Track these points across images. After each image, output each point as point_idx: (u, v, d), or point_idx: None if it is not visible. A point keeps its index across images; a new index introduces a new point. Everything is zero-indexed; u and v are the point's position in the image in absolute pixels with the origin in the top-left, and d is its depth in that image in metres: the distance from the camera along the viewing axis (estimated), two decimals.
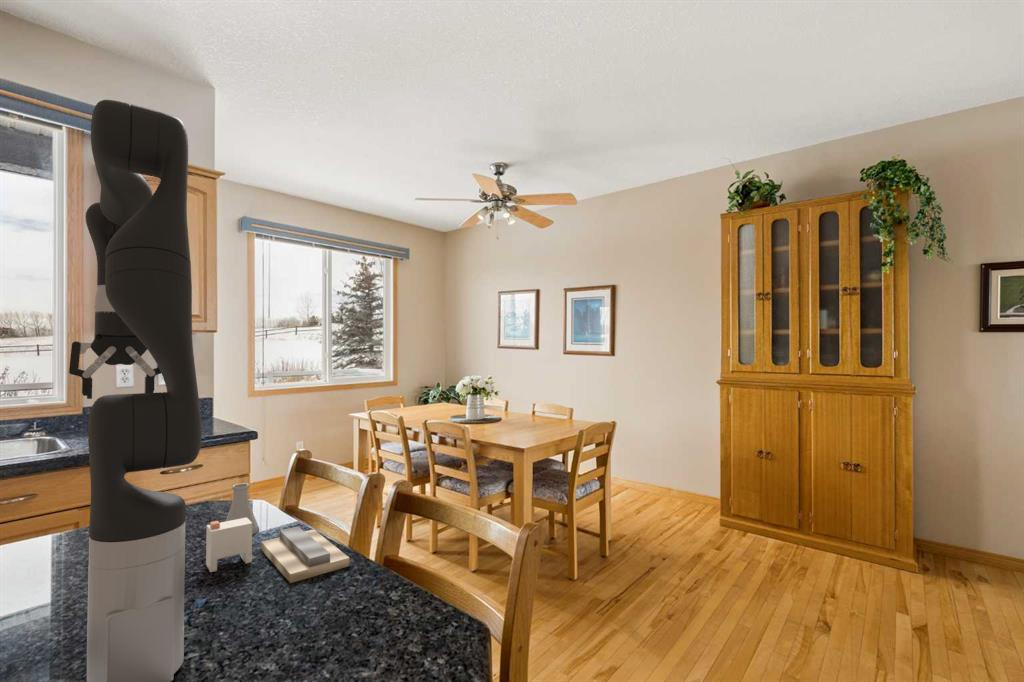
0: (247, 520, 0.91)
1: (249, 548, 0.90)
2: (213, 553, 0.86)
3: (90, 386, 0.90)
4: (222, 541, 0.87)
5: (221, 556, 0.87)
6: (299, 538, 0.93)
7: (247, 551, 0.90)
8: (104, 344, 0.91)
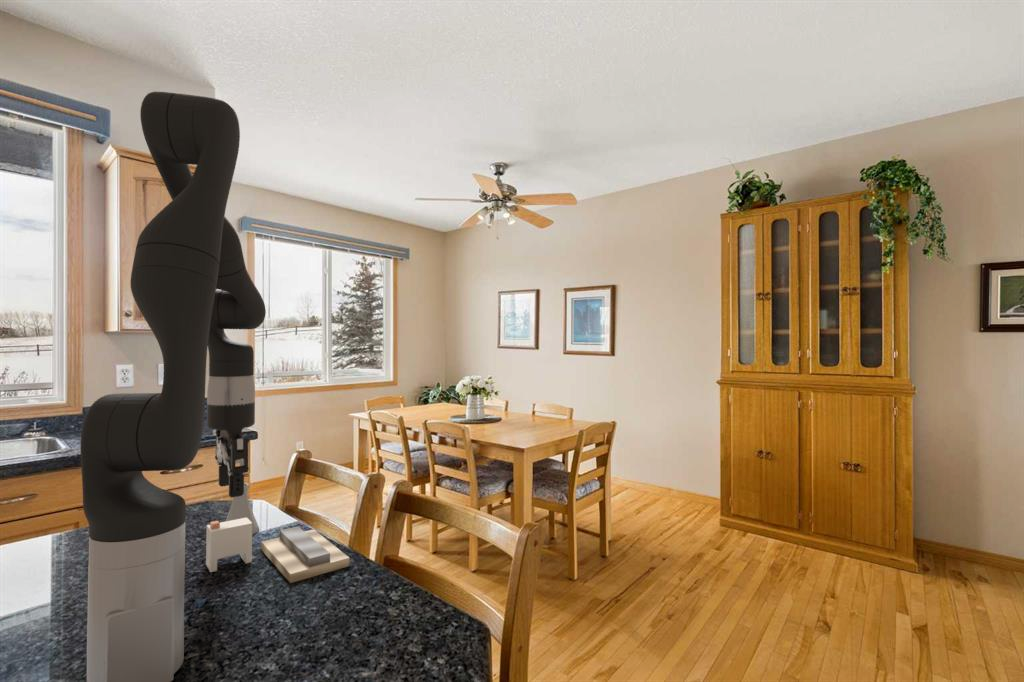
0: (247, 520, 0.91)
1: (249, 548, 0.90)
2: (213, 553, 0.86)
3: None
4: (222, 541, 0.87)
5: (221, 556, 0.87)
6: (299, 538, 0.93)
7: (247, 551, 0.90)
8: None
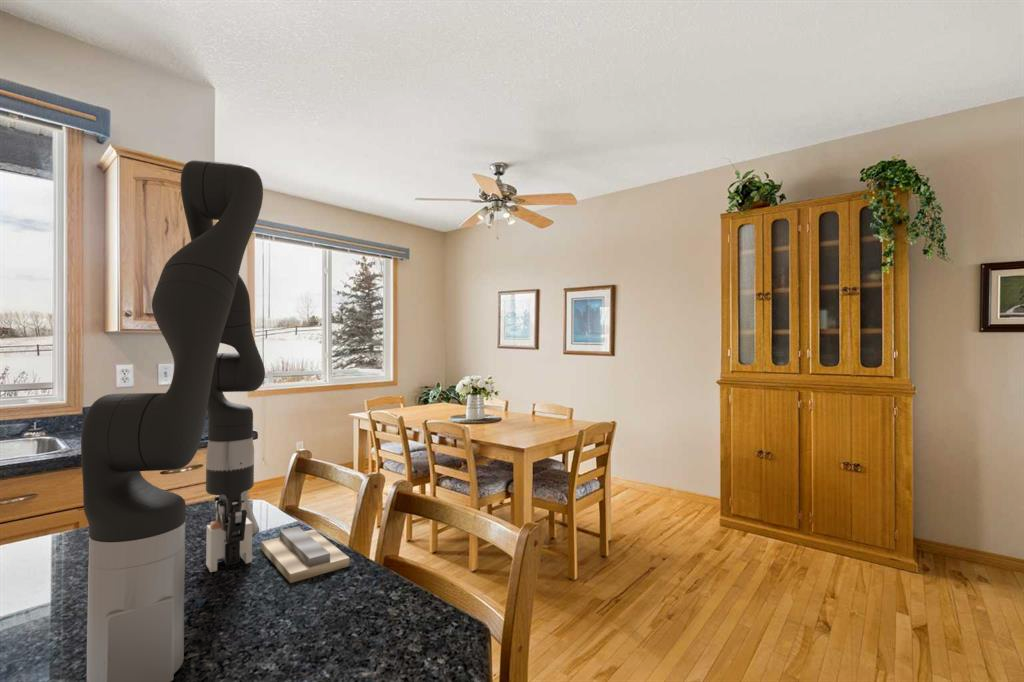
0: (247, 520, 0.91)
1: (249, 548, 0.90)
2: (213, 553, 0.86)
3: None
4: (222, 541, 0.87)
5: (221, 556, 0.87)
6: (299, 538, 0.93)
7: (247, 551, 0.89)
8: None
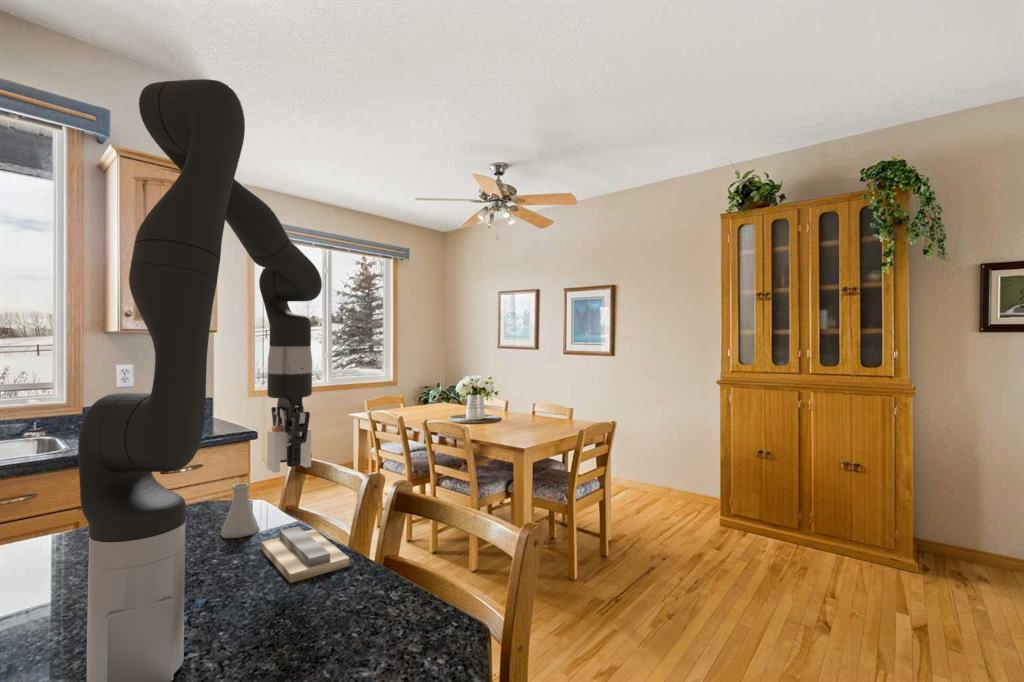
0: None
1: (308, 453, 0.92)
2: (276, 454, 0.89)
3: None
4: (285, 443, 0.90)
5: (283, 458, 0.89)
6: (299, 538, 0.93)
7: (307, 455, 0.92)
8: None
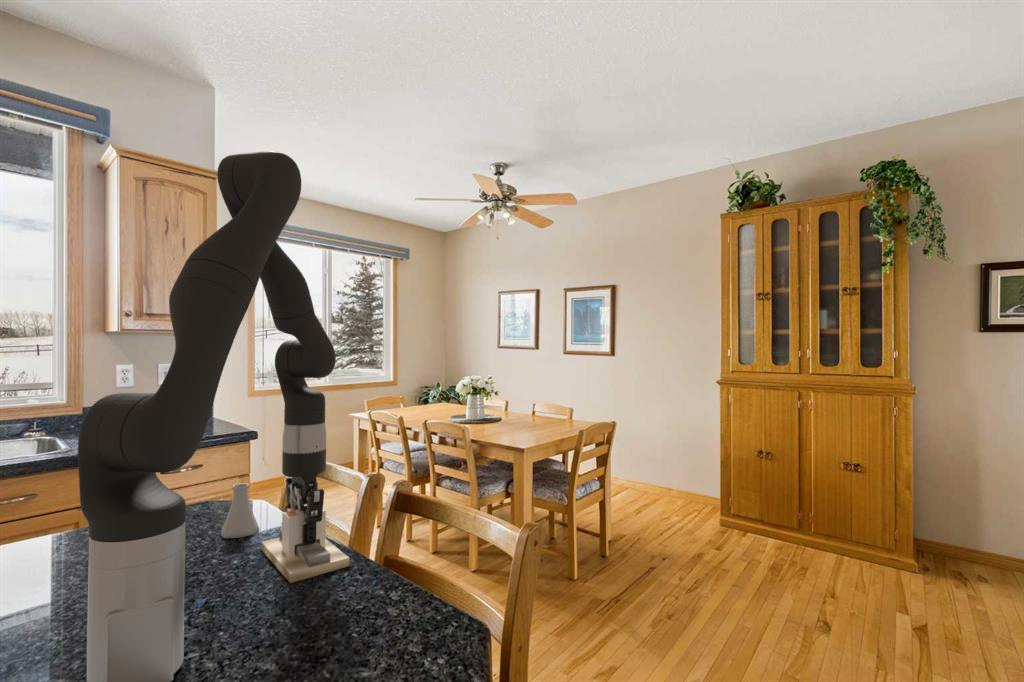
0: None
1: (323, 535, 0.92)
2: (291, 539, 0.89)
3: None
4: (299, 527, 0.90)
5: (298, 542, 0.89)
6: None
7: (321, 537, 0.92)
8: None
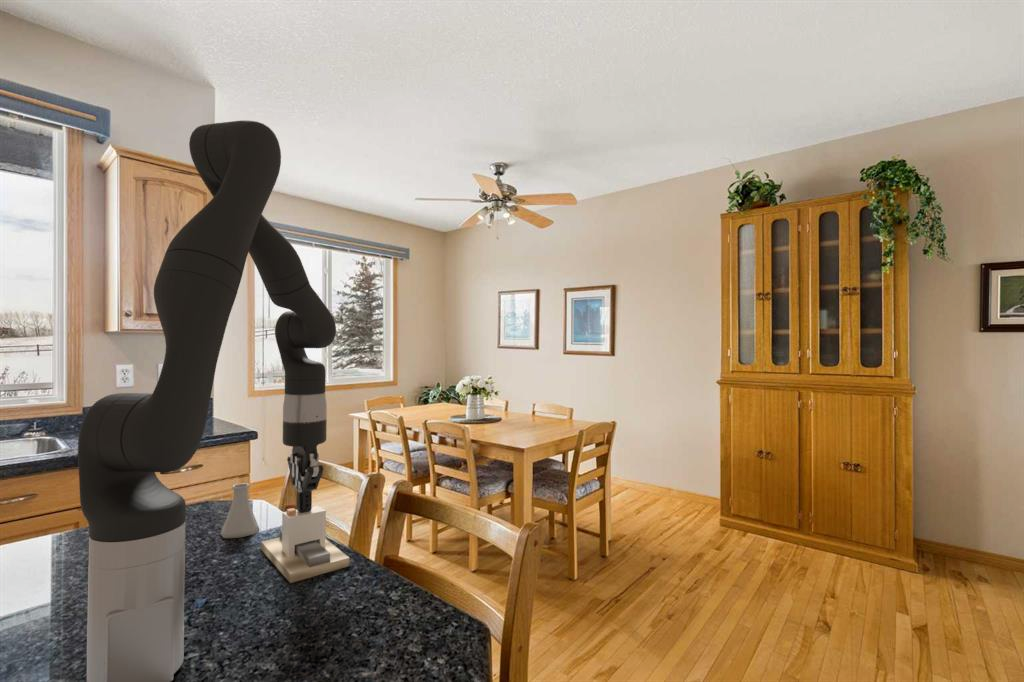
0: (320, 508, 0.94)
1: (323, 535, 0.92)
2: (291, 539, 0.89)
3: None
4: (299, 527, 0.90)
5: (298, 542, 0.89)
6: None
7: (321, 537, 0.92)
8: None
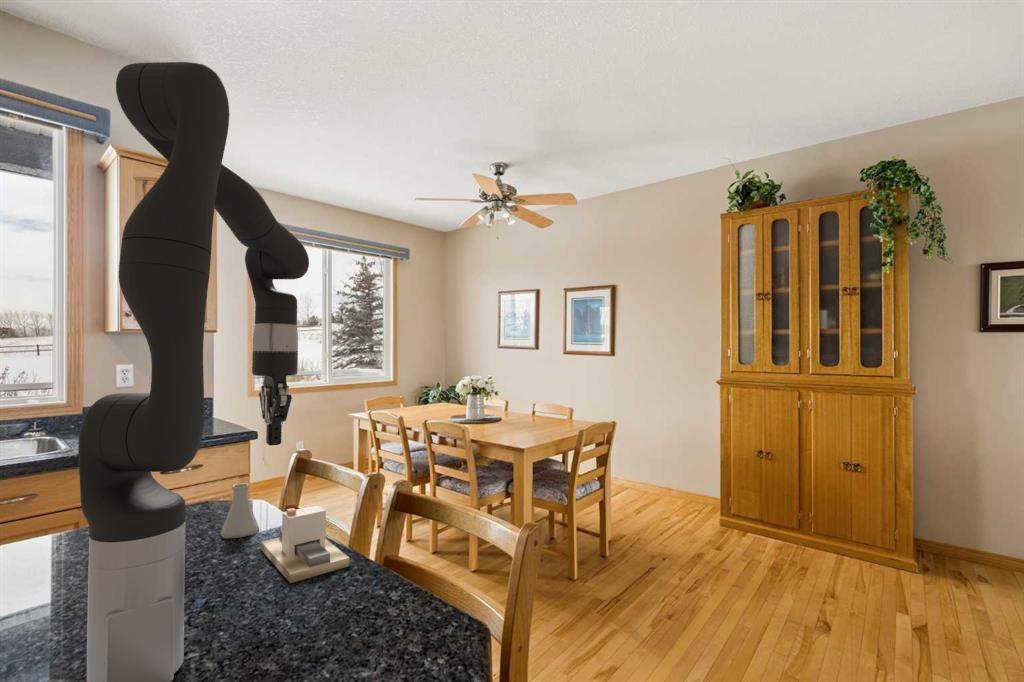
0: (320, 508, 0.94)
1: (323, 535, 0.92)
2: (291, 539, 0.89)
3: (280, 431, 0.91)
4: (299, 527, 0.90)
5: (298, 542, 0.89)
6: None
7: (321, 537, 0.92)
8: None
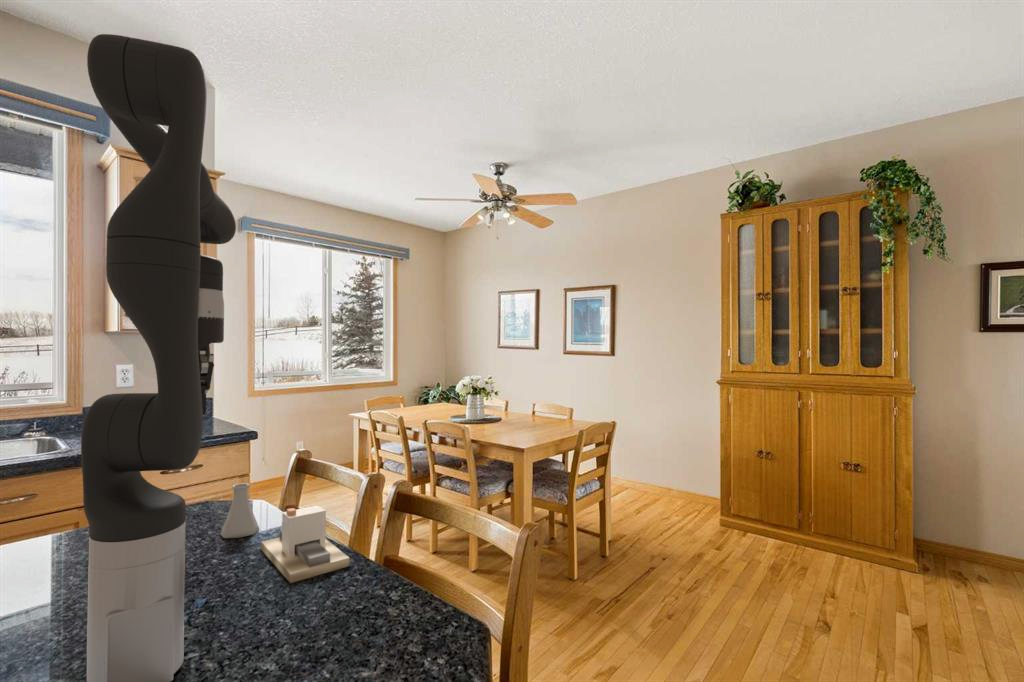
0: (320, 508, 0.94)
1: (323, 535, 0.92)
2: (291, 539, 0.89)
3: None
4: (299, 527, 0.90)
5: (298, 542, 0.89)
6: None
7: (321, 537, 0.92)
8: None
